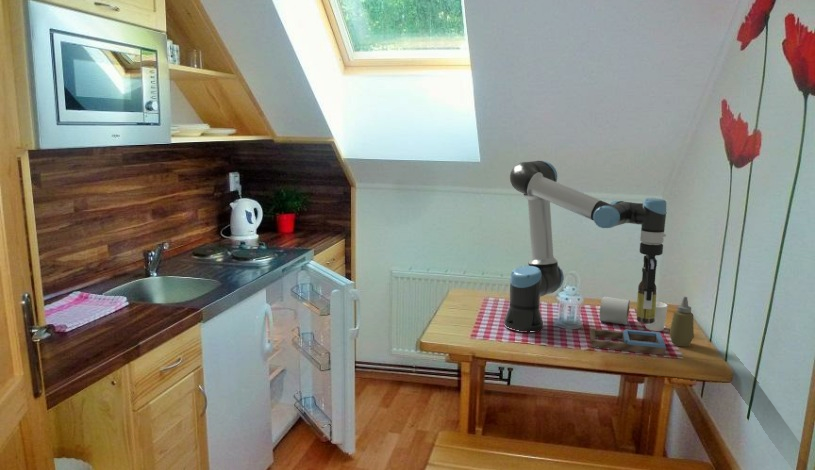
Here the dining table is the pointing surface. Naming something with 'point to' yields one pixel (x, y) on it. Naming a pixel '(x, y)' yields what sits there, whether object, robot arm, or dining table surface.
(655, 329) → the white cup
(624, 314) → the toilet paper
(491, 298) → the dining table surface
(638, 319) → the sauce bottle
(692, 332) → the squeeze bottle
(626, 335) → the caddy
